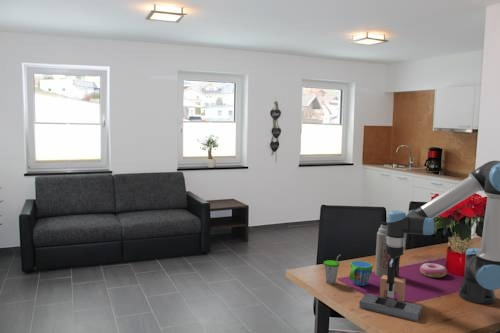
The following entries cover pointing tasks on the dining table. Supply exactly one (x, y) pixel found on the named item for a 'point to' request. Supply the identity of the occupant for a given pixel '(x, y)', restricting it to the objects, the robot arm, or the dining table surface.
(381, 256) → the thermos bottle
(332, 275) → the cup
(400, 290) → the tan bridge block
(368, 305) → the rail
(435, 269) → the donut
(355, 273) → the snack cup
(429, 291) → the dining table surface
